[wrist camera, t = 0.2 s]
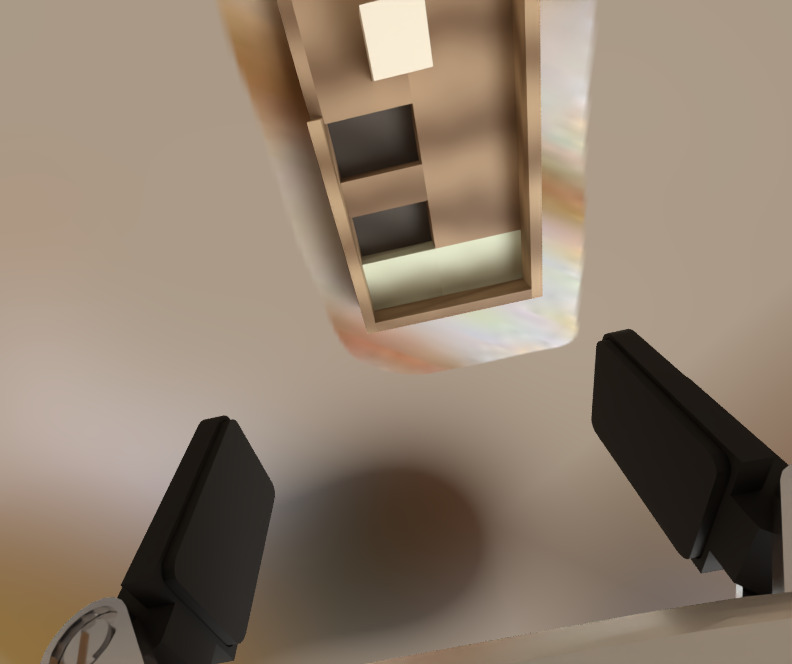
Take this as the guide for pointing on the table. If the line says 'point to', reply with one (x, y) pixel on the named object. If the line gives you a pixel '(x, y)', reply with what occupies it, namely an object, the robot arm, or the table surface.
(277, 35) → the table surface
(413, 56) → the ivory block
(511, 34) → the box
